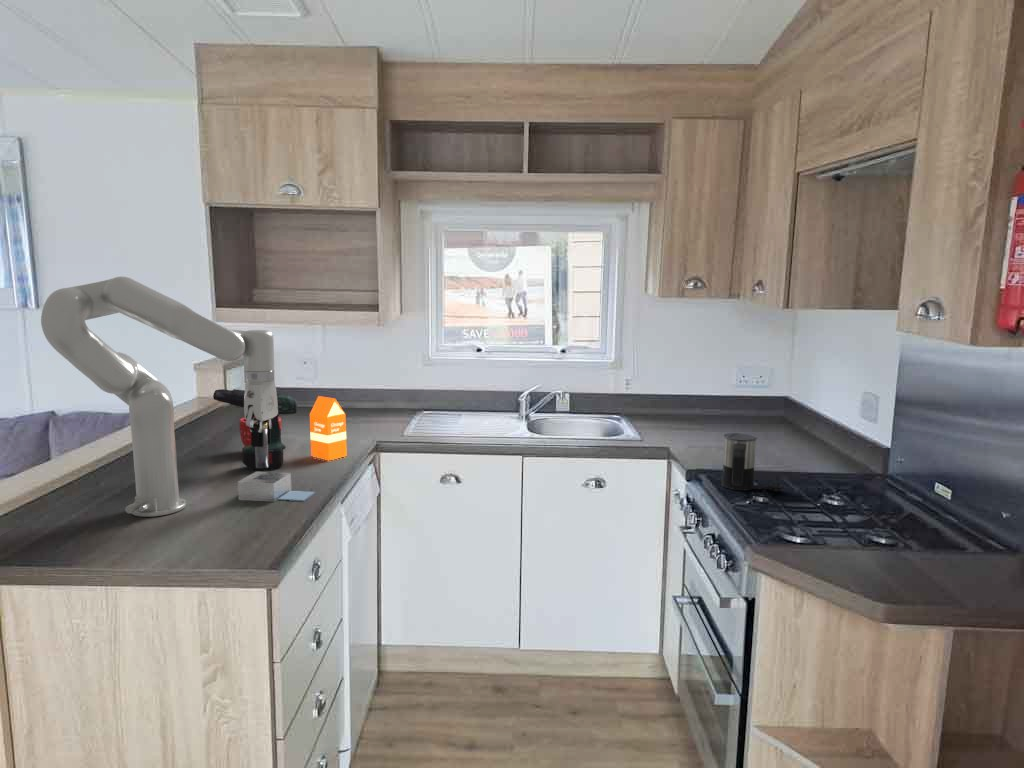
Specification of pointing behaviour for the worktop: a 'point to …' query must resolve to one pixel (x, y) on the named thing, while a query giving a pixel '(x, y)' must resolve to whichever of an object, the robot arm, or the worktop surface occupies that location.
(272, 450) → the power drill
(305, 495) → the rubber mat
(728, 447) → the milk frother
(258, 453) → the metal cylinder with cap
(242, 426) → the plant pot
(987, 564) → the worktop surface
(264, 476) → the block
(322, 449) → the orange juice
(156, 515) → the robot arm
